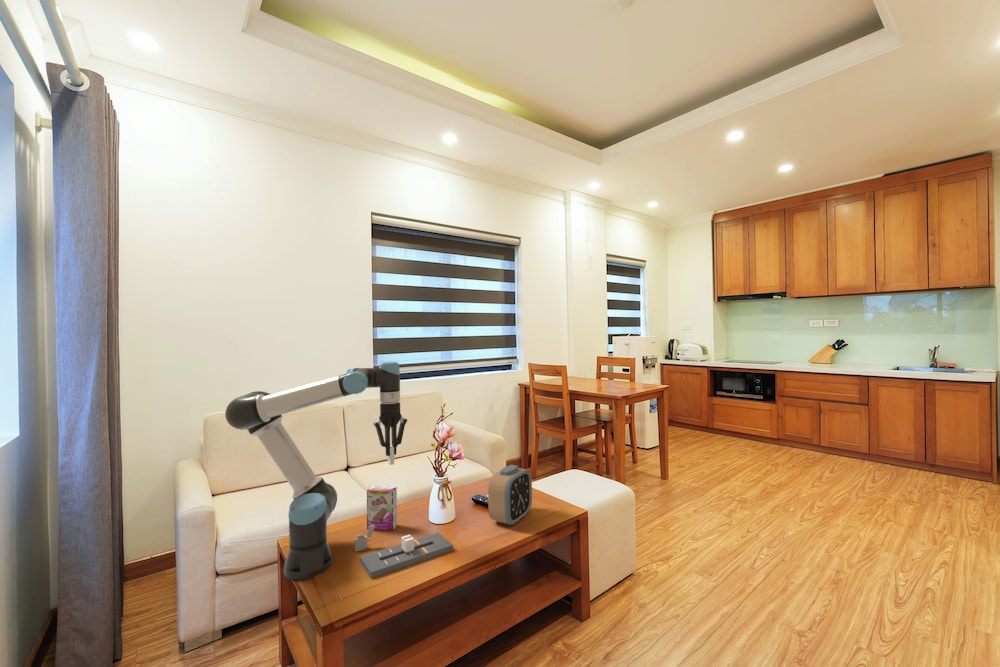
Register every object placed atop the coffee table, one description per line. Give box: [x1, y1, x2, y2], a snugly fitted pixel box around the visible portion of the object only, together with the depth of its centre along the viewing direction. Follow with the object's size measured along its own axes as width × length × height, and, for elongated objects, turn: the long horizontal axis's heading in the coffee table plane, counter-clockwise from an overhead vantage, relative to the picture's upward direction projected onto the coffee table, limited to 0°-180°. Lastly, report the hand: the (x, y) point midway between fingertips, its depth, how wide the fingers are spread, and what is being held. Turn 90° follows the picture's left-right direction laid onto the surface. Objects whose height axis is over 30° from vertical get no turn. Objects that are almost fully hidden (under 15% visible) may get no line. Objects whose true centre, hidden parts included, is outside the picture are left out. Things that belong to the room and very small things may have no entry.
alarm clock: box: [487, 464, 533, 526], centre depth 178 cm, size 21×10×22 cm, turn 148°
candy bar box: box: [366, 485, 398, 531], centre depth 172 cm, size 11×5×16 cm, turn 84°
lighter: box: [354, 524, 375, 552], centre depth 156 cm, size 7×2×8 cm, turn 117°
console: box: [359, 532, 454, 579], centre depth 149 cm, size 30×12×2 cm, turn 124°
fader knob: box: [400, 534, 415, 553], centre depth 149 cm, size 3×4×6 cm
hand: (391, 463), depth 162 cm, fingers closed
